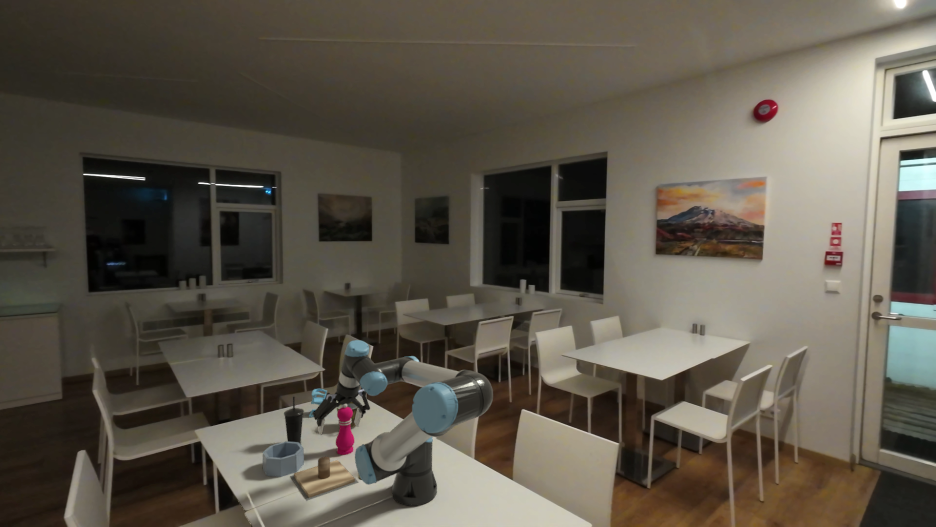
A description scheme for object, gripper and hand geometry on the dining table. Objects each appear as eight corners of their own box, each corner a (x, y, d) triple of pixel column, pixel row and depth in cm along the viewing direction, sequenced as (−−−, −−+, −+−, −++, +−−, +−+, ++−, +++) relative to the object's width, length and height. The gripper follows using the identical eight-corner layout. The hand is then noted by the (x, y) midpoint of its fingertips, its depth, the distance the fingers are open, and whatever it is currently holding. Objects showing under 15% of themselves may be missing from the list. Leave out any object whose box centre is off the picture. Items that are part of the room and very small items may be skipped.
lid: (354, 481, 157) (354, 462, 157) (308, 498, 147) (308, 476, 147) (337, 462, 170) (337, 444, 169) (293, 476, 160) (293, 457, 159)
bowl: (307, 470, 165) (307, 451, 165) (269, 482, 157) (269, 462, 157) (296, 456, 176) (295, 438, 175) (260, 466, 168) (259, 448, 167)
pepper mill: (331, 454, 177) (331, 404, 176) (344, 446, 184) (344, 398, 182) (345, 458, 174) (345, 408, 173) (358, 450, 180) (358, 402, 179)
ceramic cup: (335, 424, 205) (334, 402, 204) (357, 420, 209) (357, 399, 208) (339, 436, 193) (339, 413, 192) (363, 432, 197) (363, 410, 196)
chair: (327, 417, 213) (327, 392, 212) (308, 417, 211) (308, 392, 211) (329, 410, 220) (329, 386, 219) (312, 411, 219) (312, 387, 218)
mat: (358, 483, 157) (358, 482, 157) (306, 502, 146) (306, 500, 146) (338, 462, 171) (338, 461, 171) (290, 477, 160) (290, 476, 160)
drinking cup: (307, 440, 189) (306, 393, 187) (298, 449, 181) (298, 400, 180) (290, 439, 189) (289, 392, 188) (280, 447, 182) (280, 399, 180)
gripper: (378, 370, 165) (366, 414, 173) (310, 379, 150) (300, 427, 158) (386, 383, 160) (374, 428, 167) (316, 394, 145) (306, 443, 153)
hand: (338, 427), depth 163 cm, fingers open, 13 cm apart
